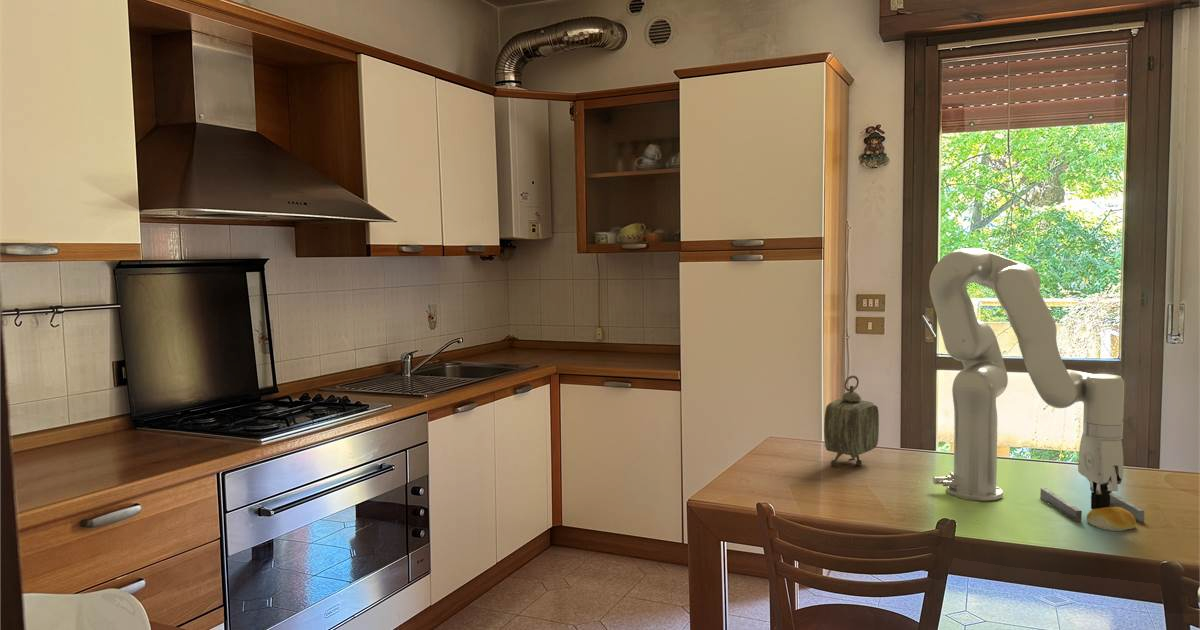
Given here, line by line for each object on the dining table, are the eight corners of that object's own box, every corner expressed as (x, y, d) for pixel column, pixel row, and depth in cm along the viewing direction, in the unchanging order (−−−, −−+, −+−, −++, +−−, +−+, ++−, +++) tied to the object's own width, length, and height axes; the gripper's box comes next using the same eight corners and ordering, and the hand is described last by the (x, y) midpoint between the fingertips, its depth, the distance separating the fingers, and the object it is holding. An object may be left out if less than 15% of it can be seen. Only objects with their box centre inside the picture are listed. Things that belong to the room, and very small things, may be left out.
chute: (1075, 521, 176) (1076, 510, 176) (1040, 498, 192) (1040, 488, 191) (1143, 521, 175) (1144, 510, 175) (1102, 498, 191) (1103, 487, 191)
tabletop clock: (851, 456, 232) (851, 370, 230) (880, 461, 225) (881, 374, 223) (824, 466, 222) (824, 377, 220) (853, 473, 216) (854, 381, 213)
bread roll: (1143, 527, 172) (1144, 509, 172) (1115, 534, 169) (1116, 516, 168) (1106, 515, 180) (1107, 498, 179) (1078, 522, 176) (1079, 504, 176)
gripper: (1067, 422, 185) (1065, 499, 187) (1104, 438, 170) (1102, 522, 172) (1100, 422, 185) (1098, 499, 186) (1141, 438, 170) (1138, 522, 172)
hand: (1100, 510), depth 179 cm, fingers closed
